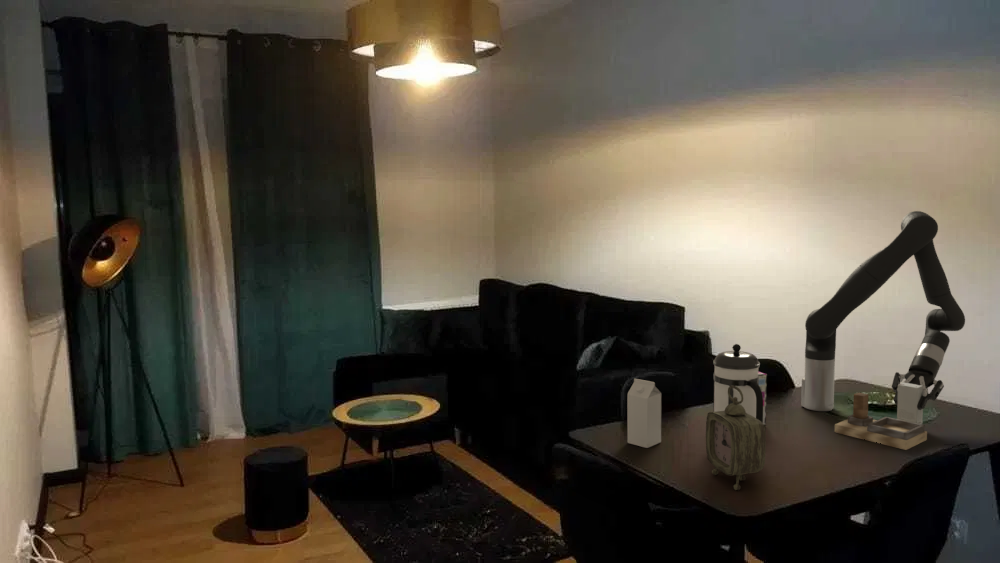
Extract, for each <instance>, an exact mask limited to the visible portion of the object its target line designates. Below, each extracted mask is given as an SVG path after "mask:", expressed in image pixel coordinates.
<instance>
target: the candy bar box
mask: <svg viewBox="0 0 1000 563" xmlns="http://www.w3.org/2000/svg"><path fill="white" fill-rule="evenodd" d="M758 375H759V387H760V389H761V391H762V396H763V424H764V426H766V424H767V421H766V420H767V388H768V387H767V385H768V374H767V373H764V372H761V371H759V370H758Z"/></svg>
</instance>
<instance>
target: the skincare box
mask: <svg viewBox="0 0 1000 563" xmlns="http://www.w3.org/2000/svg"><path fill="white" fill-rule="evenodd" d="M922 391H923V386H921V385H916V384H910V383H905V382H904V381H902V382H900V384H899V385H898V398H897V405H896V419H899V420H903V421H908V422H912V423H917V424H921V425H923V423H924V422H923V416H924V409H922V410H918V408H917V404H918V402H919V400H920V398H921V396H923V395H922Z"/></svg>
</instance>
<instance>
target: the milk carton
mask: <svg viewBox="0 0 1000 563" xmlns="http://www.w3.org/2000/svg"><path fill="white" fill-rule="evenodd" d="M626 401H627V403H626V404H627V408H626V409H627V410H626V411H627V416H626V417H627V444H631V445H634V446H639V447H642V448H645V449H648V448H651V447H654V446H656V445H658V444H660V443H661V442H662V392H661V391H660V390H659V389H658V388H657V387H656V383H655V382H654V381H650V380H644V379H639V378H634V379H633V383H632V385H631V387H630V389H629V390H628V392H627V400H626Z"/></svg>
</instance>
